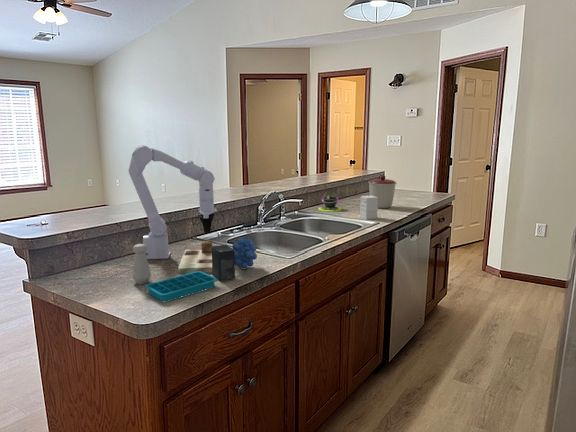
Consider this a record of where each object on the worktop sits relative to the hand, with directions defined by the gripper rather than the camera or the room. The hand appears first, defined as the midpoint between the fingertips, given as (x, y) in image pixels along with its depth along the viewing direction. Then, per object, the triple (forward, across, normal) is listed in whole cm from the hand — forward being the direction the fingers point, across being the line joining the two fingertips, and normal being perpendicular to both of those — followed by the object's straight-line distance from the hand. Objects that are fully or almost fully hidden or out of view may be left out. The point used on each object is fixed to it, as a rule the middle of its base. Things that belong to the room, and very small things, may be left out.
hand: (207, 231), depth 175 cm
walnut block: (+6, -7, 0) cm, 9 cm away
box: (+9, -32, -7) cm, 34 cm away
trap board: (+8, -15, +3) cm, 18 cm away
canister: (+9, +89, -107) cm, 139 cm away
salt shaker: (+9, -34, +20) cm, 40 cm away
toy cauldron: (+9, +87, -72) cm, 113 cm away
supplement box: (+9, +57, -88) cm, 105 cm away
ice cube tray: (+9, -42, +6) cm, 44 cm away
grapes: (+9, -25, -15) cm, 30 cm away
